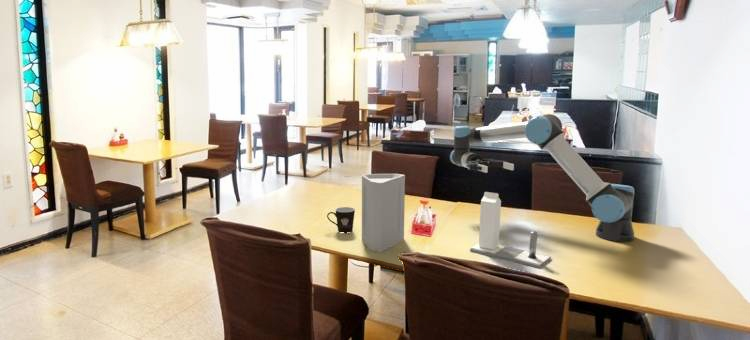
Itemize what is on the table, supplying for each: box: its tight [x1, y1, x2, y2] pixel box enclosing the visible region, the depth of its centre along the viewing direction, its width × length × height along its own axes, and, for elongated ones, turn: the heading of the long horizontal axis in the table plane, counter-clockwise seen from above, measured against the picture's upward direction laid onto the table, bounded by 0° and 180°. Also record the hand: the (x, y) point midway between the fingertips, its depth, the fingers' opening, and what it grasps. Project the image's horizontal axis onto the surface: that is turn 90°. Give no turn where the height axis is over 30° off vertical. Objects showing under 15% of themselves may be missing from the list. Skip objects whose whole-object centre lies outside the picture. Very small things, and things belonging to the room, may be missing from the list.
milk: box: [478, 191, 502, 250], centre depth 197 cm, size 6×6×22 cm
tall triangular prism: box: [361, 173, 406, 253], centre depth 205 cm, size 19×15×28 cm
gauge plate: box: [469, 243, 552, 269], centre depth 194 cm, size 28×12×1 cm, turn 51°
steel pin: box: [528, 230, 538, 258], centre depth 187 cm, size 2×2×10 cm
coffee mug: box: [326, 206, 356, 234], centre depth 222 cm, size 12×9×10 cm
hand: (500, 168), depth 214 cm, fingers open, 13 cm apart
